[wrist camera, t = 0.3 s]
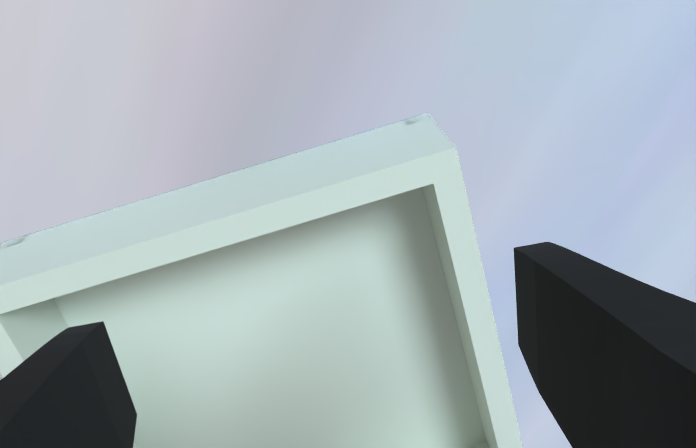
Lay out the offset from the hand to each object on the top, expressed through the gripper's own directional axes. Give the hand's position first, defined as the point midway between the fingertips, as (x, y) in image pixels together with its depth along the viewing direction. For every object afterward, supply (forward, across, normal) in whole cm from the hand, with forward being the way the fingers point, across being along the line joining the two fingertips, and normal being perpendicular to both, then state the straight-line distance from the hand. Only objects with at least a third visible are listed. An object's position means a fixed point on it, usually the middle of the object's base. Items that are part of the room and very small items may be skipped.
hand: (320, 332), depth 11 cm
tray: (+10, +2, +7) cm, 12 cm away
